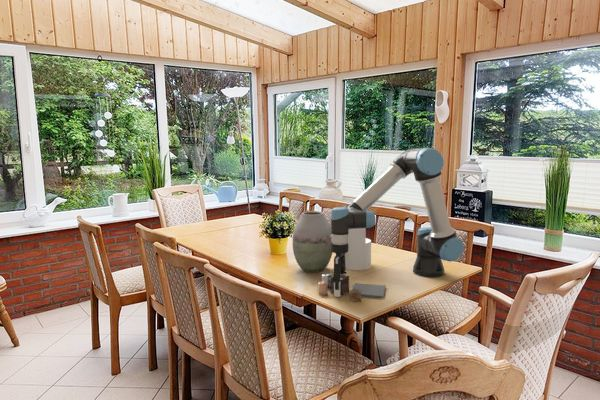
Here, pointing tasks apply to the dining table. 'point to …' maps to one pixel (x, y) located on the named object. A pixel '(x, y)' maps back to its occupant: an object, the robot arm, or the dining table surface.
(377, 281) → the dining table surface
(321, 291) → the peach rounded capsule
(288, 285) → the dining table surface
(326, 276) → the metal-capped glass jar
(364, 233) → the cylinder
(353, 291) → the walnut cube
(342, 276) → the box
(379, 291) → the slate board
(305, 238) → the vase
